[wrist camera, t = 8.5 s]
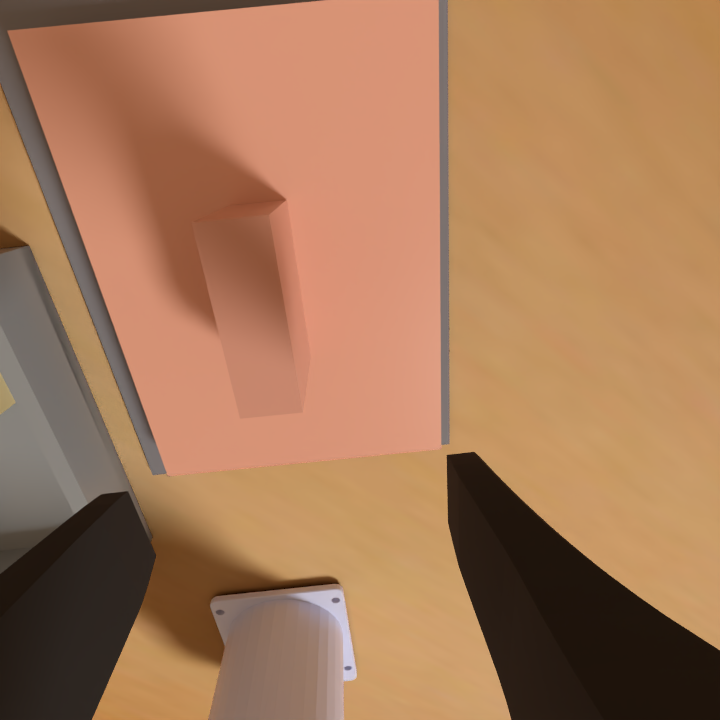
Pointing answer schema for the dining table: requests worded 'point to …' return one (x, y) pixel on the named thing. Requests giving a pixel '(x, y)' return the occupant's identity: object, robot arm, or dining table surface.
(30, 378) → the tub
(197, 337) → the lid
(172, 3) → the mat
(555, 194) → the dining table surface
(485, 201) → the dining table surface
